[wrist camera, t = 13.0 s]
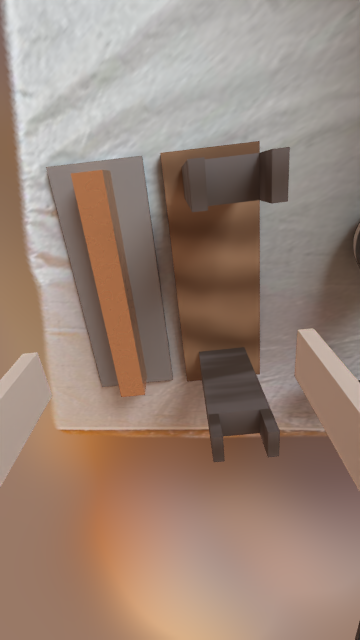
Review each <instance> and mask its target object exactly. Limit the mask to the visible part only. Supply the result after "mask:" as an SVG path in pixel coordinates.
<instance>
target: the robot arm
mask: <svg viewBox="0 0 360 640" xmlns="http://www.w3.org/2000/svg"><path fill="white" fill-rule="evenodd" d="M295 378H296V379H297V381H298V383H299V385H300V387H301V388H302V390H303V392H304V394H305V395H306V397H307V399H308V401H309V403H310V404H311V406H312V408H313V410H314V411H315V413H316V415H317V417H318V419H319V420H320V422H321V424H322V426H323V428H324V429H325V431H326V433H327V435H328V436H329V438H330V440H331V442H332V444H333V445H334V447H335V449H336V451H337V452H338V454H339V456H340V458H341V460H342V461H343V463H344V465H345V467H346V468H347V470H348V472H349V474H350V475H351V477H352V479H353V481H354V483H355V484H356V486H357V488H358V490H359V492H360V381H358V380H357V379H356V378H355V377H354V375H353V374H352V373H351V372H350V371H349V370H348V368H347V367H346V366H345V365H344V364H343V362H342V361H341V360H340V359H339V358H338V357H337V355H336V354H335V353H334V352H333V351H332V350H331V348H330V347H329V346H328V345H327V344H326V343H325V341H324V340H323V339H322V338H321V337H320V335H319V334H318V333H317V332H316V331H315V330H314V328H313V329H301V330H298V333H297V347H296V362H295ZM51 397H52V393H51V390H50V387H49V384H48V381H47V378H46V376H45V373H44V370H43V367H42V364H41V361H40V358H39V355H38V353H26V354H22V355H21V357H20V358H19V359H18V360H17V361H16V362H15V364H14V365H13V366H12V367H11V368H10V369H9V370H8V372H7V373H6V374H5V375H4V376H3V378H2V379H1V380H0V486H1V485H2V483H3V481H4V479H5V477H6V476H7V474H8V472H9V471H10V469H11V467H12V465H13V464H14V462H15V460H16V458H17V457H18V455H19V453H20V451H21V450H22V448H23V446H24V444H25V443H26V441H27V439H28V437H29V436H30V434H31V432H32V430H33V429H34V427H35V424H36V423H37V422H38V420H39V418H40V416H41V414H42V413H43V411H44V409H45V407H46V406H47V404H48V402H49V400H50V399H51ZM355 640H360V622H359V626H358V630H357V633H356V637H355Z"/></svg>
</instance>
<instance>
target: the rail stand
mask: <svg viewBox="0 0 360 640" xmlns="http://www.w3.org/2000/svg"><path fill="white" fill-rule="evenodd" d="M289 150H290V147H286V148H278V149H271V150H268V151H264V152H261V153H259V141H257V142H249V143H240V144H232V145H224V146H215V147H207V148H199V149H190V150H182V151H173V152H165V153H160V154H161V163H162V171H163V180H164V188H165V197H166V205H167V214H168V222H169V231H170V239H171V248H172V257H173V265H174V274H175V282H176V291H177V299H178V308H179V316H180V325H181V333H182V342H183V350H184V359H185V367H186V376H187V381H196V380H202V383H203V390H204V397H205V404H206V411H207V419H208V426H209V433H210V440H211V447H212V454H213V461H214V462H221V461H224V445H223V436H233V435H243V434H254V433H260V435H261V438H262V440H263V444H264V447H265V450H266V452H267V456H268V457H275V456H279V441H280V431H279V428H278V426H277V423H276V421H275V419H274V416H273V414H272V412H271V409H270V407H269V404H268V402H267V400H266V397H265V395H264V393H263V390H262V388H261V385H260V383H259V381H258V378H257V376H256V374H260V200H261V201H265V202H269V203H278V202H287V201H288V179H289Z"/></svg>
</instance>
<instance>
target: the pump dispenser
mask: <svg viewBox="0 0 360 640" xmlns="http://www.w3.org/2000/svg"><path fill="white" fill-rule="evenodd" d="M353 250H354V255H355V258H356V260H357V264H358V266H359V268H360V223H359V225H358V227H357V229H356V232H355V235H354V241H353Z"/></svg>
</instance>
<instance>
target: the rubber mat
mask: <svg viewBox="0 0 360 640" xmlns="http://www.w3.org/2000/svg"><path fill="white" fill-rule="evenodd" d="M46 169H47V173H48V177H49V180H50V184H51V188H52V192H53V196H54V200H55V204H56V208H57V212H58V216H59V220H60V223H61V227H62V231H63V235H64V239H65V243H66V247H67V251H68V255H69V259H70V263H71V266H72V270H73V274H74V278H75V282H76V286H77V290H78V294H79V298H80V302H81V306H82V309H83V313H84V317H85V321H86V325H87V329H88V333H89V337H90V341H91V345H92V349H93V352H94V356H95V360H96V364H97V368H98V372H99V376H100V380H101V384H102V387H106V386H116V385H119V384H118V379H117V375H116V371H115V366H114V362H113V357H112V353H111V349H110V344H109V340H108V336H107V331H106V327H105V322H104V318H103V314H102V309H101V305H100V301H99V296H98V292H97V287H96V283H95V279H94V274H93V270H92V266H91V261H90V257H89V252H88V248H87V244H86V239H85V235H84V231H83V226H82V222H81V217H80V213H79V209H78V204H77V200H76V195H75V191H74V187H73V182H72V178H71V173H79V172H88V171H96V170H108V171H110V173H111V178H112V184H113V190H114V195H115V201H116V206H117V212H118V217H119V223H120V228H121V234H122V240H123V245H124V251H125V256H126V262H127V267H128V273H129V278H130V284H131V289H132V295H133V301H134V306H135V312H136V317H137V323H138V328H139V334H140V339H141V345H142V351H143V356H144V362H145V367H146V373H147V382H156V381H166V380H173V375H172V367H171V360H170V353H169V346H168V339H167V332H166V324H165V317H164V310H163V303H162V296H161V289H160V281H159V274H158V267H157V260H156V253H155V245H154V238H153V231H152V224H151V217H150V210H149V202H148V195H147V188H146V181H145V174H144V166H143V159H142V156H136V157H128V158H119V159H111V160H102V161H94V162H86V163H77V164H69V165H61V166H52V167H46Z"/></svg>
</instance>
